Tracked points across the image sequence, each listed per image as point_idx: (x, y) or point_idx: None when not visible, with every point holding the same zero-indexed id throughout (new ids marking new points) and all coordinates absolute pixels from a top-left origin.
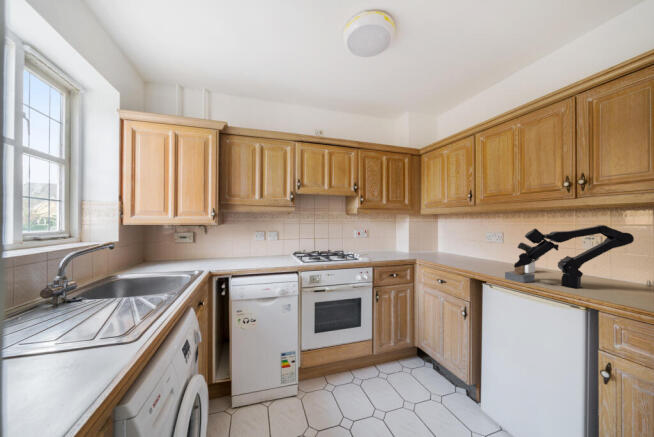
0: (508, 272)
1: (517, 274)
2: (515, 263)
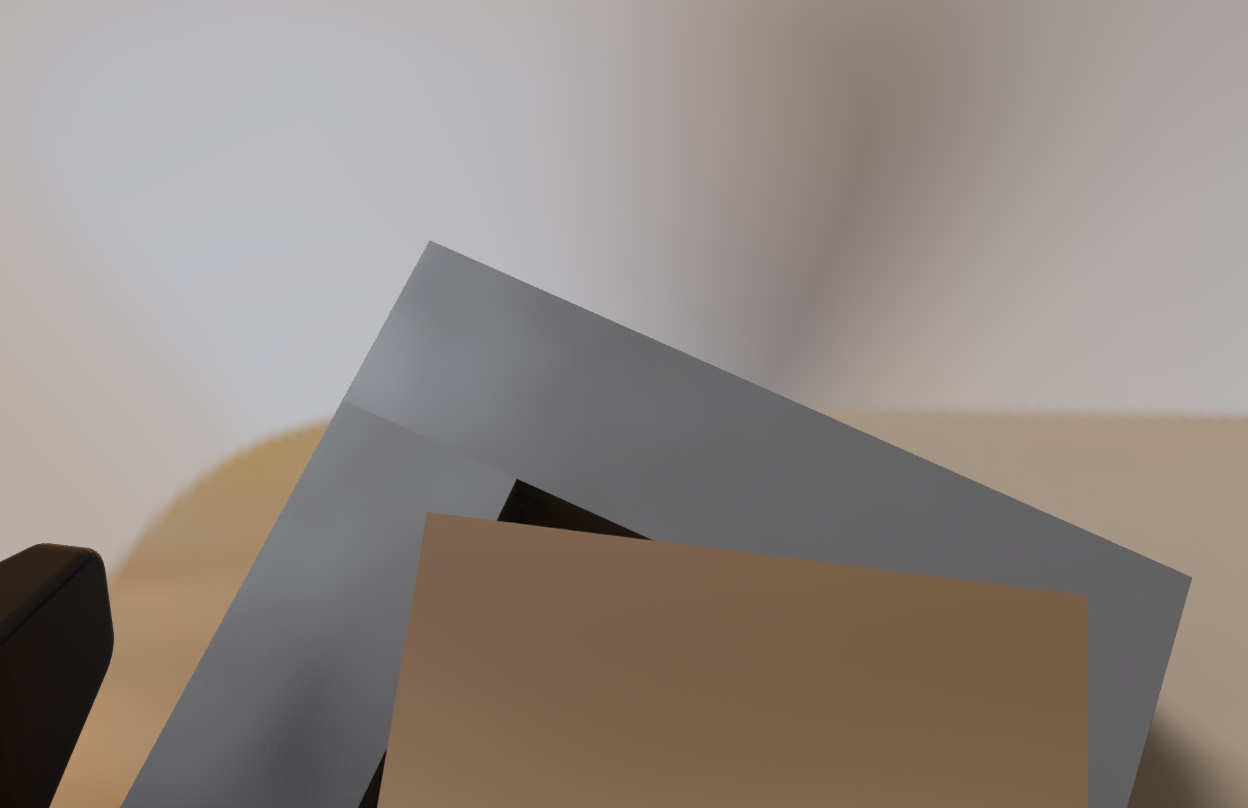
0: (434, 367)
1: (161, 775)
2: (425, 591)
